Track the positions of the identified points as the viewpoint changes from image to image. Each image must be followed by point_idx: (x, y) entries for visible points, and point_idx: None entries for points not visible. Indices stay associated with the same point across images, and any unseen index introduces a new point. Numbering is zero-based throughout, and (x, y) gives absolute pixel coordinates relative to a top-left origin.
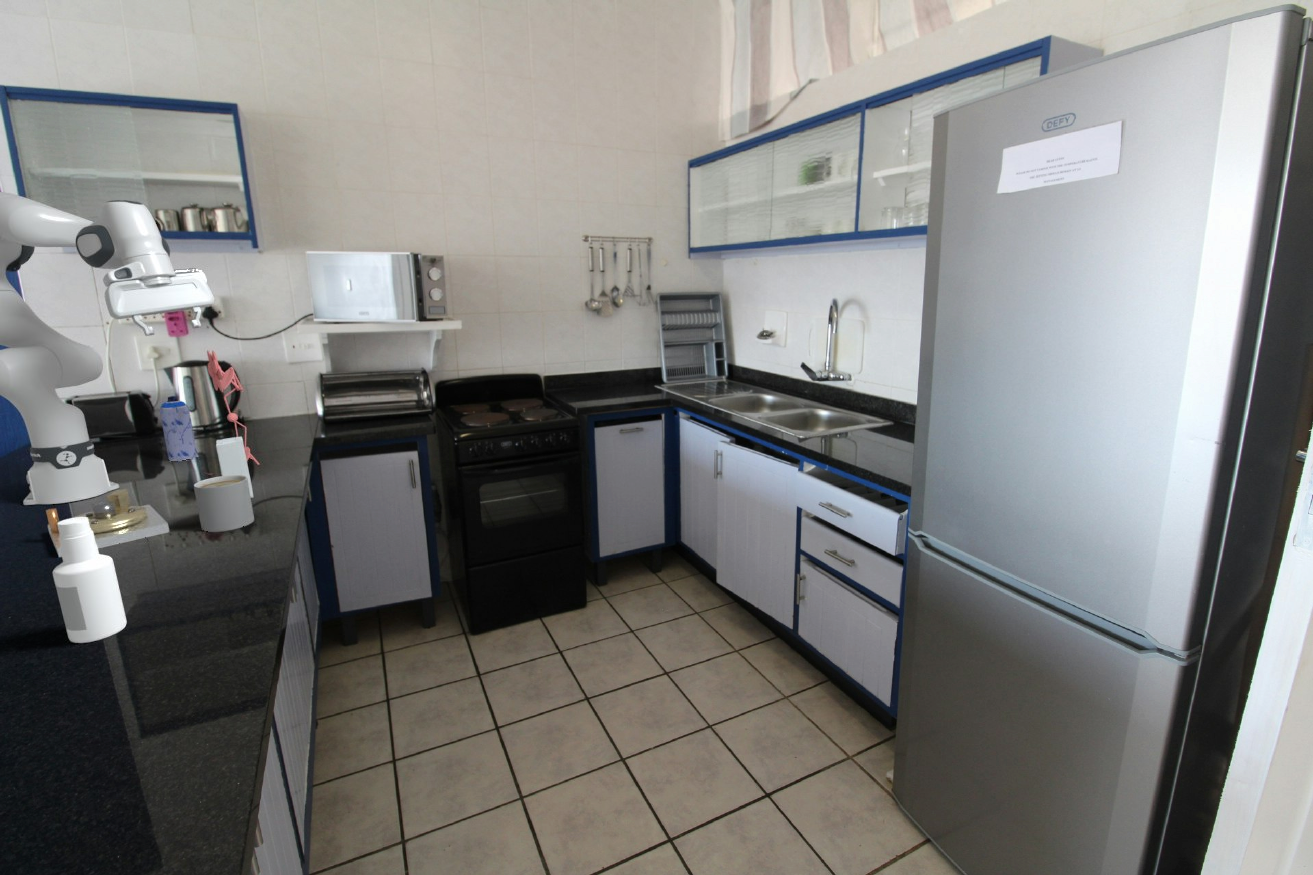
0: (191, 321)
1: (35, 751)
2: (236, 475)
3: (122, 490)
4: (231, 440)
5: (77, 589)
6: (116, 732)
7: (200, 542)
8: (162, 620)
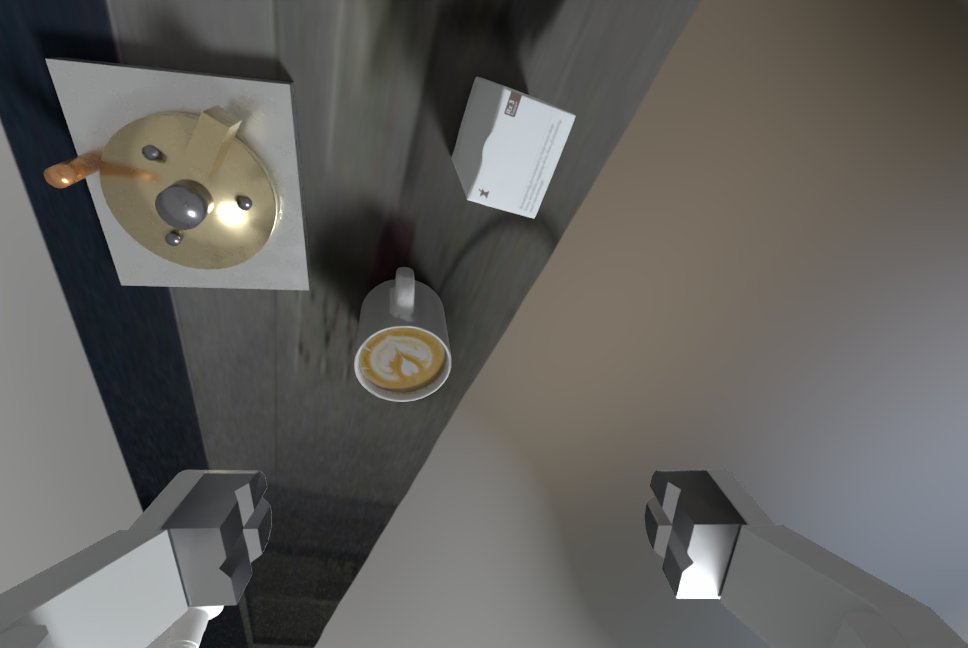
0: (677, 565)
1: None
2: (441, 342)
3: (217, 134)
4: (518, 182)
5: None
6: (240, 635)
7: (344, 370)
8: (274, 541)
